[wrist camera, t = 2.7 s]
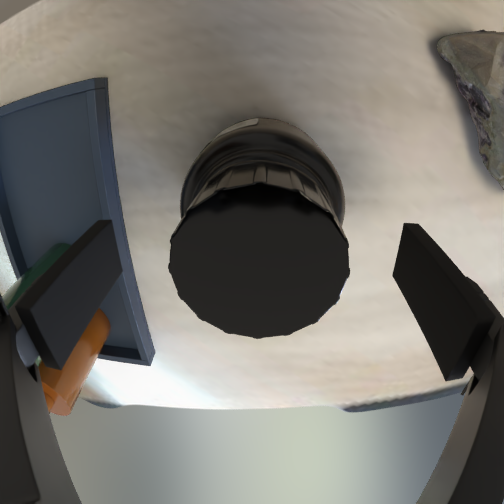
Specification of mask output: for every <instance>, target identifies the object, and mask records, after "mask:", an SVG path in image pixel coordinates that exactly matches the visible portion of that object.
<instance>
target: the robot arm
mask: <svg viewBox="0 0 504 504" xmlns="http://www.w3.org/2000/svg"><path fill="white" fill-rule="evenodd" d="M122 272H123V269H122V265H121V260H120V256H119V251H118V247H117V242H116V237H115V232H114V227H113V222H112V220H98V221H97V222H95V223H94V224H93V225H92V226H91V227H90V228H89V229H88V230H87V231H86V232H85V233H84V234H83V235H82V236H81V237H80V238H79V239H77V240H76V241H75V242H74V243H73V244H72V245H71V246H70V247H69V248H68V249H67V250H66V251H65V252H64V253H63V254H62V255H61V256H60V257H59V258H58V259H57V260H56V261H55V262H54V263H53V265H52V266H51V267H50V268H49V269H48V270H47V271H46V272H45V273H43V274H42V275H40V276H39V277H37V278H36V279H35V281H34V282H33V283H32V284H31V286H29V287H28V288H27V289H26V290H25V292H24V293H23V294H22V295H21V296H20V297H19V298H18V299H17V300H16V302H15V303H14V304H13V305H12V306H11V307H10V309H9V310H7V307H6V305H5V303H4V301H3V299H2V296H1V294H0V504H82V503H81V501H80V499H79V497H78V494H77V492H76V490H75V487H74V485H73V483H72V480H71V478H70V475H69V472H68V470H67V467H66V465H65V462H64V459H63V457H62V454H61V451H60V448H59V445H58V442H57V439H56V435H55V432H54V429H53V425H52V422H51V419H50V415H49V411H48V407H47V403H46V399H45V395H44V391H43V387H42V382H41V378H40V373H39V368H38V366H37V364H36V363H35V361H36V359H37V358H38V356H40V358H41V359H42V361H43V363H44V364H45V366H46V367H49V368H53V369H57V370H62V368H63V367H64V365H65V363H66V361H67V360H68V358H69V356H70V354H71V353H72V351H73V349H74V347H75V346H76V344H77V342H78V341H79V339H80V337H81V336H82V334H83V332H84V331H85V329H86V327H87V326H88V324H89V323H90V321H91V319H92V318H93V316H94V315H95V313H96V311H97V310H98V308H99V307H100V305H101V304H102V302H103V300H104V299H105V297H106V296H107V294H108V293H109V291H110V290H111V288H112V287H113V285H114V284H115V282H116V281H117V279H118V278H119V276H120V275H121V273H122ZM392 276H393V278H394V279H395V281H396V283H397V285H398V286H399V288H400V290H401V292H402V294H403V296H404V297H405V299H406V301H407V303H408V305H409V307H410V309H411V311H412V312H413V314H414V316H415V318H416V320H417V322H418V324H419V326H420V328H421V330H422V332H423V334H424V336H425V338H426V340H427V342H428V344H429V346H430V348H431V350H432V352H433V355H434V357H435V359H436V361H437V363H438V365H439V367H440V370H441V372H442V374H443V376H444V379H445V381H450V380H455V379H460V378H463V377H464V375H465V373H466V372H467V370H468V368H469V367H471V368H472V370H473V372H474V374H473V376H472V377H471V379H470V381H469V382H468V384H467V385H466V387H465V388H464V390H463V391H462V393H461V395H464V393H465V392H466V393H465V396H464V399H463V402H462V405H461V408H460V411H459V413H458V416H457V419H456V421H455V424H454V427H453V429H452V431H451V434H450V436H449V439H448V441H447V443H446V446H445V448H444V450H443V452H442V455H441V457H440V459H439V461H438V463H437V465H436V467H435V469H434V471H433V473H432V475H431V477H430V479H429V481H428V483H427V485H426V487H425V489H424V491H423V492H422V494H421V496H420V498H419V499H418V501H417V503H416V504H502V502H503V499H504V318H503V317H502V315H501V314H500V312H499V311H498V310H497V308H496V307H495V306H494V305H493V303H492V302H491V301H490V300H489V298H488V297H487V296H486V294H484V292H483V291H482V289H481V288H480V287H479V286H478V284H477V283H475V282H474V281H473V280H471V279H470V278H468V277H465V276H464V275H463V273H462V272H461V271H460V270H459V269H458V267H457V266H456V265H455V264H454V263H453V262H452V260H451V259H450V258H449V257H448V256H447V255H446V253H445V252H444V251H443V250H442V249H441V248H440V247H439V246H438V244H437V243H436V242H435V241H434V240H433V239H432V238H431V237H430V236H429V235H428V234H427V232H426V231H425V230H424V229H423V228H422V227H421V226H420V225H419V224H414V223H404V225H403V230H402V235H401V240H400V245H399V249H398V254H397V258H396V262H395V267H394V271H393V275H392Z"/></svg>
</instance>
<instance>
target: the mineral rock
mask: <svg viewBox="0 0 504 504" xmlns="http://www.w3.org/2000/svg"><path fill="white" fill-rule="evenodd" d="M437 49H438V52H439V55H440V56H441V58H442V59H445V60H446V61H448V62H450V63H451V64H452V67H453V70H454V74H455V78H456V80H457V82H456V85H457V88H458V90H459V91H460V92H461V94H462V95H463V96H464V97H465V99H466V100H467V101H468V103H469V110H470V114H471V117H472V119H473V121H474V123H475V124H476V129H477V131H478V137H479V151H480V154H481V156H482V158H483V163H484V164H485V166H486V167H487V169H488V171H489V172H490V174H491V175H492V176H493V177H494V178H495V179H496V180H497V181H498V182H499V183H500V185H501V186H502V187H503V190H504V32H496V31H485V30H480V31H474V32H468V33H458V34H452V35H448V36H445V37H443V38H441V39H440V40H439V41H438V46H437Z"/></svg>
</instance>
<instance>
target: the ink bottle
mask: <svg viewBox="0 0 504 504" xmlns="http://www.w3.org/2000/svg"><path fill="white" fill-rule="evenodd" d="M180 213H181V221H180V223H179V224H178V226H177V228H176V229H175V231H174V233H173V234H172V236H171V239H170V243H171V249H170V263H169V265H168V269H169V272H170V274H171V275H172V278H173V281H174V283H175V286H176V288H177V291H178V292H177V293H178V296H179V297H180V299H181V300H183V301H184V302H185V303H186V304H187V305H188V306H189V307H190V308H191V309H192V310H193V312H194V313H195V314H196V315H197V317H198V318H199V319H201V320H202V321H206V322H208V323H209V324H211V325H213V326H215V327H217V328H219V329H221V330H223V331H224V332H225V333H228V334H237V335H242V336H248V337H253V338H256V339H261V338H264V337H273V336H281V335H284V336H286V335H290V334H292V333H293V332H295V331H298V330H300V329H302V328H304V327H306V326H309V325H311V324H315V323H316V322H318V321H319V320H320V318H321V317H322V316H323V315H324V314H325V313H326V312H327V311H328V310H329V309H330V308H331V307H332V306H333V305H335V304H336V303H337V302H338V301H339V299H340V294H341V292H342V290H343V288H344V285H345V283H346V280H347V278H349V275H350V268H349V256H348V248H349V243H348V240H347V238H346V236H345V234H344V231H343V229H342V224H343V220H344V214H345V196H344V190H343V186H342V183H341V180H340V177H339V175H338V173H337V171H336V169H335V167H334V166H333V164H332V163H331V161H330V160H329V159H328V157H327V156H326V155H325V154H324V152H323V151H322V150H321V149H320V148H319V146H318V145H317V144H316V143H315V142H314V140H313V139H312V138H311V137H310V136H308V135H307V134H306V133H305V132H303V131H302V130H301V129H299V128H297V127H295V126H294V125H291V124H289V123H287V122H284V121H280V120H276V119H269V118H255V119H249V120H245V121H241V122H238V123H236V124H234V125H232V126H230V127H229V128H227V129H225V130H223V131H222V132H221V133H220V134H218V135H217V136H216V137H215V138H214V139H213V140H212V141H211V142H210V143H209V144H208V145H207V146H206V147H205V148H204V149H203V150H202V152H201V153H200V154H199V156H198V157H197V158H196V160H195V161H194V163H193V164H192V166H191V167H190V169H189V171H188V173H187V176H186V178H185V181H184V184H183V188H182V192H181V200H180Z"/></svg>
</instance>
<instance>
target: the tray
mask: <svg viewBox="0 0 504 504" xmlns="http://www.w3.org/2000/svg"><path fill="white" fill-rule="evenodd" d="M98 220H112V222H113V227H114V232H115V237H116V242H117V247H118V251H119V256H120V260H121V265H122V269H123V272H122V273H121V275H120V276H119V278H118V279H117V281H116V282H115V284H114V285H113V287H112V288H111V290H110V291H109V293H108V294H107V296H106V297H105V299H104V300H103V302H102V304H101V305H100V307H99V308H100V309H101V310H102V311H103V312H104V314H105V315H106V316H107V318H108V320H109V322H110V326H111V331H110V334H109V336H108V338H107V340H106V342H105V344H104V346H103V348H102V349H101V351H100V353H99V355H98V357H97V358H99V359H105V360H111V361H117V362H124V363H131V364H138V365H146V366H151V363H152V360H153V357H154V355H155V350H154V347H153V343H152V340H151V336H150V333H149V329H148V326H147V322H146V318H145V315H144V311H143V307H142V303H141V299H140V295H139V291H138V287H137V283H136V279H135V274H134V270H133V265H132V261H131V256H130V251H129V247H128V242H127V236H126V231H125V226H124V220H123V215H122V209H121V203H120V197H119V190H118V184H117V177H116V169H115V162H114V154H113V145H112V135H111V125H110V113H109V100H108V82H107V78H92V79H88V80H84V81H80V82H76V83H72V84H68V85H65V86H61V87H58V88H54V89H51V90H48V91H45V92H41V93H38V94H35V95H32V96H29V97H26V98H23V99H21V100H18V101H15V102H12V103H10V104H7V105H5V106H2V107H0V232H1V235H2V238H3V241H4V244H5V247H6V250H7V253H8V256H9V259H10V262H11V265H12V267H13V270H14V273H15V275H16V278H17V280H18V279H19V278H20V277H21V276H22V275H23V274H24V273H25V272H26V271H27V270H28V269H29V268H30V267H31V266H32V265H33V264H34V263H35V262H36V261H37V260H38V259H39V258H40V257H41V256H42V255H43V254H44V253H45V252H46V251H47V250H48V249H49V248H50V247H52V246H53V245H55V244H57V243H66V244H69V245H72V244H73V243H74V242H75V241H76V240H77V239H79V238H80V237H81V236H82V235H83V234H84V233H85V232H86V231H87V230H88V229H89V228H90V227H91V226H92V225H93V224H94V223H95V222H97V221H98Z"/></svg>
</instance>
